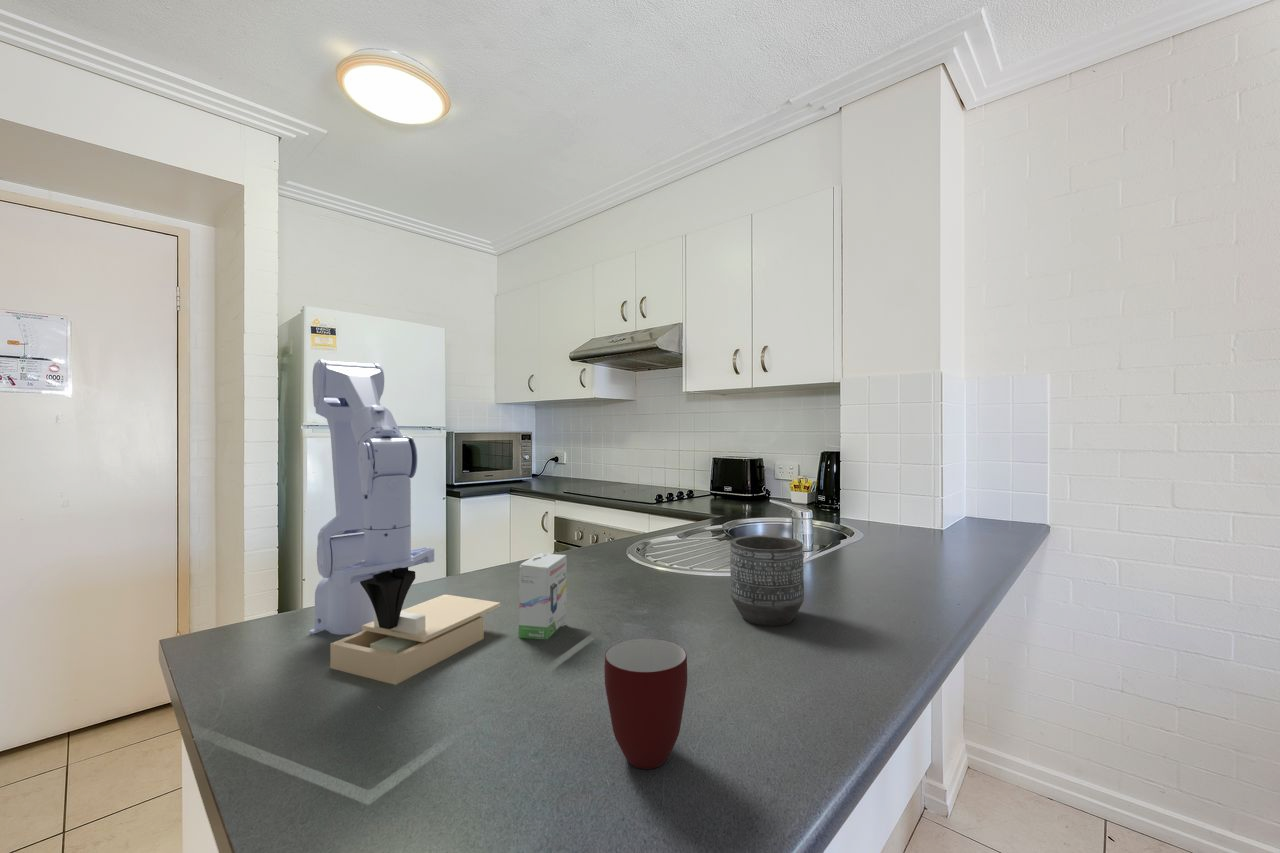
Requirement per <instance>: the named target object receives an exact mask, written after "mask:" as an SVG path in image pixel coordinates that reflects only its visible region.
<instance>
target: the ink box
mask: <svg viewBox="0 0 1280 853" xmlns="http://www.w3.org/2000/svg"><path fill="white" fill-rule="evenodd" d="M567 556H568V555H567V554H555V553H554V554H553V553H545V552H544V553H543V552H540V553H538V554H536V555H534V556H532V557H530V558H529V559H527V560H525V561H523V562H521V563H520V565H519V578H518V580H519V581H518V582H519V583H518V587H519V588H518V590H519V591H518V638H520V639H531V640H548V639H550V637H551V636H552V635H553V634H554V633H555V632H556V631H557V630H558V629H560V627H564V626H565V625H566V624H567V578H568V577H567V576H568V575H567V573H568V572H567V566H568V565H567V564H568V563H567V562H568V560H567Z"/></svg>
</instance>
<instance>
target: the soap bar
mask: <svg viewBox="0 0 1280 853" xmlns="http://www.w3.org/2000/svg"><path fill="white" fill-rule="evenodd" d="M417 644H418V641H414V640H409V639H404V638H400V637H395V636H388V637H386V638H383V639H381V640H379V641H376V642H374V643H371V644H370V648H371V649H376V650H380V651H385V652H389V653H394V654H398V653H400V652H402V651H404V650H406V649H409V648H411V647H413V646H415V645H417Z"/></svg>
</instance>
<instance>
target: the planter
mask: <svg viewBox="0 0 1280 853" xmlns="http://www.w3.org/2000/svg"><path fill="white" fill-rule="evenodd" d="M729 544H730V547H729V548H730V554H729V555H730V556H729V559H730V560H729V562H730V564H729V566H730V586H729V587H730V590H729V591H730V598H731V600H732V602H733V603H734V605H735V608H736V609H737V611H738V612H739V614H740V615H741V616H742V618H743V619H744V620H745V621H747V622H748V623H751V624H755V625H758V626H759V625H760V626H765V627H767V626H768V627H770V626H771V627H777V626H784V625H787V624H790V623H791V622H792V621H793V620H794V618H795V616H796V615H797V613H798V612H799V611H800V609H801V607H802V605H803V603H804V601H805V600H804V599H805V598H804V597H805V583H804V582H805V581H804V579H805V578H804V575H805V574H804V570H805V569H804V568H805V567H804V566H805V565H804V544H803V542H802V541H800V540H798V539H795V538H791V537H786V536H775V535H747V536H745V535H743V536H739V537H736V538H732V539H731V540H730V543H729Z"/></svg>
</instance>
